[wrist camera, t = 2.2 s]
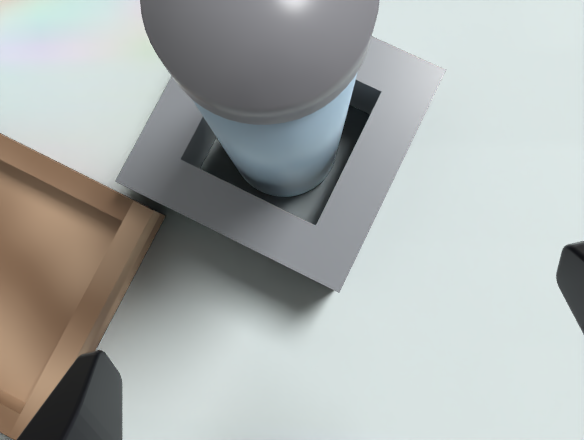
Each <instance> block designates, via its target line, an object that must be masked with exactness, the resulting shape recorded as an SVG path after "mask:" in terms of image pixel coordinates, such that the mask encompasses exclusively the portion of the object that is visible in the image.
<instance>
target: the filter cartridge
mask: <svg viewBox="0 0 584 440" xmlns="http://www.w3.org/2000/svg"><path fill="white" fill-rule="evenodd" d="M140 4H141V14H142V18H143V23H144V27H145V30H146V33H147V35H148V38H149V40H150V43H151V45H152V46H153V48H154V50H155V52H156V53H157V55H158V57H159V58H160V60H161V61H162V63H163V64H164V66H165V67H166V69H167V70H168V72H169V73H170V74H171V76H172V77H173V79H174V80H175V81H176V83H177V84H178V85H179V87H180V88H181V89H182V90H183V91H184V92H185V93H186V94H187V95H188V96H189V97H190V98H191V99H192V100H193V102H194V103H195V105H196V106H197V108H198V110H199V111H200V113H201V114H202V116H203V117H204V119H205V120H206V122H207V123H208V125H209V126H210V128H211V129H212V131H213V133H214V134H215V136H216V137H217V139H218V140H219V142H220V143H221V145H222V146H223V148H224V149H225V151H226V152H227V154H228V155H229V157H230V159H231V160H232V162H233V163H234V165H235V166H236V168H237V169H238V171H239V172H240V174H241V175H242V176H243V178H244V179H245V180H246V181H247V182H248V183H249V184H250V185H251V186H253V187H254V188H255V189H257V190H259V191H261V192H263V193H266V194H269V195H272V196H279V197H290V196H296V195H300V194H303V193H305V192H308V191H309V190H311V189H313V188H314V187H316V186H317V185H318V184H320V183H321V182H322V181H323V180H324V179H325V177H326V176H327V175H328V173H329V172H330V170H331V168H332V166H333V164H334V161H335V157H336V154H337V150H338V146H339V142H340V138H341V134H342V130H343V127H344V123H345V119H346V115H347V111H348V107H349V103H350V100H351V96H352V92H353V88H354V84H355V80H356V76H357V72H358V70H359V69H360V67H361V65H362V63H363V61H364V58H365V56H366V53H367V50H368V47H369V43H370V40H371V36H372V32H373V29H374V25H375V21H376V18H377V14H378V8H379V0H140Z"/></svg>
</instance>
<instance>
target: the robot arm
mask: <svg viewBox="0 0 584 440" xmlns="http://www.w3.org/2000/svg"><path fill="white" fill-rule="evenodd" d="M556 279H557V283H558V286H559V288H560V290H561V292H562V294H563V296H564V298H565V300H566V302H567V303H568V305H569V307H570V309H571V311H572V313H573V315H574V317H575V319H576V321H577V322H578V324H579V326H580V328H581V330H582V332H583V334H584V241H581V242H577V243H572V244H568V245H566V246H565V247H564V248H563V250H562V253H561V257H560V261H559V265H558V269H557V273H556ZM16 440H122V379H121V376H120V374H119V372H118V370H117V369H116V367H115V366H114V365H113V363H112V362H111V360H110V359H109V358H108V356H107V355H106V353H105V352H103V351H101V350H97V351H92V352H88V353H84V354H81V355H80V356H79V357H78V358H77V359H76V360H75V361H74V363H73V364H72V365H71V367H70V368H69V369H68V371H67V372H66V373H65V375H64V376H63V377H62V379H61V380H60V381H59V383H58V384H57V386H56V387H55V388H54V390H53V391H52V392H51V394H50V395H49V396H48V398H47V399H46V400H45V402H44V403H43V404H42V406H41V407H40V408H39V410H38V411H37V412H36V414H35V415H34V417H33V418H32V419H31V421H30V422H29V423H28V425H27V426H26V427H25V429H24V430H23V431H22V433H21V434H20V435H19V437H18V438H17V439H16Z"/></svg>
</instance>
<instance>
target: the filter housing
mask: <svg viewBox="0 0 584 440" xmlns="http://www.w3.org/2000/svg"><path fill="white" fill-rule="evenodd" d="M445 71H446V69H443V68H441V67H439V66H437V65H435V64H432V63H430V62H428V61H426V60H424V59H421V58H419V57H417V56H415V55H412V54H410V53H408V52H406V51H404V50H401V49H399V48H397V47H395V46H393V45H390V44H388V43H386V42H384V41H381V40H379V39H377V38H375V37H373V36H371V40H370V43H369V47H368V50H367V53H366V56H365V58H364V61H363V63H362V65H361V67H360V69H359V70H358V72H357V76H356V80H355V84H354V88H353V92H352V96H351V100H350V103H349V105H351V106H353V107H355V108H357V109H359V110H361V111H364V112H366V113H368V114H370V116H369V118H368V120H367V123H366V125H365V127H364V129H363V131H362V133H361V135H360V137H359V139H358V141H357V143H356V145H355V147H354V149H353V151H352V153H351V155H350V157H349V159H348V161H347V163H346V165H345V167H344V169H343V171H342V173H341V175H340V177H339V179H338V182H337V184H336V186H335V188H334V190H333V192H332V194H331V196H330V198H329V200H328V202H327V204H326V206H325V208H324V210H323V212H322V214H321V216H320V218H319V220H318V222H317V224H316V225H314V224H312V223H310V222H308V221H306V220H304V219H302V218H300V217H298V216H295V215H293V214H291V213H289V212H287V211H285V210H283V209H281V208H279V207H277V206H275V205H273V204H271V203H269V202H267V201H265V200H263V199H261V198H259V197H257V196H254V195H252V194H250V193H248V192H246V191H244V190H242V189H240V188H238V187H236V186H234V185H232V184H230V183H228V182H226V181H224V180H222V179H220V178H218V177H216V176H213V175H211V174H209V173H207V172H205V171H203V170H201V169H200V167H201V165H202V163H203V161H204V160H205V158H206V156H207V154H208V152H209V150H210V148H211V146H212V144H213V142H214V140H215V138H216V136H215V134H214V133H213V131H212V129H211V128H210V126H209V125H208V123H207V122H206V120H205V119H204V117H203V116H202V114H201V113H200V111H199V110H198V108H197V106H196V105H195V103H194V102H193V100H192V99H191V98H190V97H189V96H188V95H187V94H186V93H185V92H184V91H183V90H182V89H181V88H180V87H179V85H178V84H177V83H176V81H175V80H174V79H173V77H172V76H171V78H170V80H169V82H168V84H167V86H166V88H165V89H164V91H163V93H162V95H161V97H160V99H159V101H158V102H157V104H156V106H155V108H154V110H153V112H152V114H151V116H150V117H149V119H148V121H147V123H146V125H145V127H144V129H143V130H142V132H141V134H140V136H139V138H138V140H137V142H136V143H135V145H134V147H133V149H132V151H131V153H130V155H129V156H128V158H127V160H126V162H125V164H124V166H123V168H122V170H121V171H120V173H119V175H118V177H117V179H116V181H115V182H117V183H119V184H121V185H123V186H125V187H127V188H129V189H131V190H133V191H135V192H137V193H139V194H142V195H144V196H146V197H148V198H150V199H152V200H154V201H156V202H158V203H160V204H162V205H164V206H166V207H168V208H170V209H172V210H174V211H176V212H178V213H180V214H182V215H184V216H186V217H188V218H190V219H192V220H194V221H196V222H198V223H200V224H202V225H204V226H206V227H208V228H210V229H212V230H214V231H216V232H218V233H220V234H222V235H224V236H226V237H228V238H230V239H232V240H234V241H236V242H238V243H240V244H242V245H244V246H246V247H248V248H250V249H252V250H254V251H256V252H258V253H260V254H262V255H264V256H266V257H268V258H270V259H272V260H274V261H276V262H278V263H280V264H282V265H284V266H286V267H288V268H290V269H292V270H294V271H296V272H298V273H300V274H302V275H304V276H306V277H308V278H310V279H312V280H314V281H316V282H318V283H320V284H322V285H324V286H326V287H328V288H330V289H333V290H335V291H337V292H340V290H341V288H342V286H343V284H344V282H345V280H346V278H347V276H348V273H349V271H350V269H351V267H352V265H353V263H354V261H355V259H356V257H357V255H358V253H359V251H360V248H361V246H362V244H363V242H364V240H365V238H366V236H367V234H368V232H369V230H370V228H371V226H372V223H373V221H374V219H375V217H376V215H377V213H378V211H379V209H380V207H381V205H382V203H383V201H384V198H385V196H386V194H387V192H388V190H389V188H390V186H391V184H392V182H393V180H394V178H395V176H396V173H397V171H398V169H399V167H400V165H401V163H402V161H403V159H404V157H405V155H406V153H407V151H408V148H409V146H410V144H411V142H412V140H413V138H414V136H415V134H416V132H417V130H418V128H419V126H420V124H421V121H422V119H423V117H424V115H425V113H426V111H427V109H428V107H429V105H430V103H431V101H432V99H433V96H434V94H435V92H436V90H437V88H438V86H439V84H440V82H441V80H442V78H443V76H444V74H445Z"/></svg>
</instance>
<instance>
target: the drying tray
mask: <svg viewBox="0 0 584 440" xmlns="http://www.w3.org/2000/svg"><path fill="white" fill-rule="evenodd" d="M164 218H165V215H163V214H161V213H159V212H157V211H155V210H153V209H151V208H149V207H147V206H145V205H143V204H141V203H139V202H137V201H135V200H133V199H131V198H129V197H127V196H125V195H123V194H121V193H119V192H117V191H115V190H113V189H111V188H109V187H107V186H105V185H103V184H101V183H99V182H97V181H95V180H93V179H91V178H89V177H87V176H85V175H83V174H81V173H79V172H77V171H75V170H73V169H71V168H69V167H67V166H65V165H63V164H61V163H59V162H57V161H55V160H53V159H51V158H49V157H47V156H45V155H43V154H41V153H39V152H37V151H35V150H33V149H31V148H29V147H27V146H25V145H23V144H21V143H19V142H17V141H15V140H13V139H11V138H9V137H7V136H5V135H3V134H1V133H0V432H1V433H3V434H4V435H6V436H8V437H10V438H12V439H14V440H16V439H17V438H18V437H19V435H20V434H21V433H22V431H23V430H24V429H25V427H26V426H27V425H28V423H29V422H30V421H31V419H32V418H33V417H34V415H35V414H36V412H37V411H38V410H39V408H40V407H41V406H42V404H43V403H44V402H45V400H46V399H47V398H48V396H49V395H50V394H51V392H52V391H53V390H54V388H55V387H56V386H57V384H58V383H59V381H60V380H61V379H62V377H63V376H64V375H65V373H66V372H67V371H68V369H69V368H70V367H71V365H72V364H73V363H74V361H75V360H76V359H77V358H78V357H79V356H80V355H81V354H84V353H88V352H92V351H95V350H96V348H97V346H98V344H99V342H100V341H101V339H102V337H103V335H104V333H105V331H106V329H107V327H108V325H109V323H110V321H111V320H112V318H113V316H114V314H115V312H116V310H117V308H118V306H119V304H120V302H121V300H122V299H123V297H124V295H125V293H126V291H127V289H128V287H129V285H130V283H131V281H132V279H133V277H134V276H135V274H136V272H137V270H138V268H139V266H140V264H141V262H142V260H143V258H144V256H145V255H146V253H147V251H148V249H149V247H150V245H151V243H152V241H153V239H154V237H155V235H156V234H157V232H158V230H159V228H160V226H161V224H162V222H163V220H164Z"/></svg>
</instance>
